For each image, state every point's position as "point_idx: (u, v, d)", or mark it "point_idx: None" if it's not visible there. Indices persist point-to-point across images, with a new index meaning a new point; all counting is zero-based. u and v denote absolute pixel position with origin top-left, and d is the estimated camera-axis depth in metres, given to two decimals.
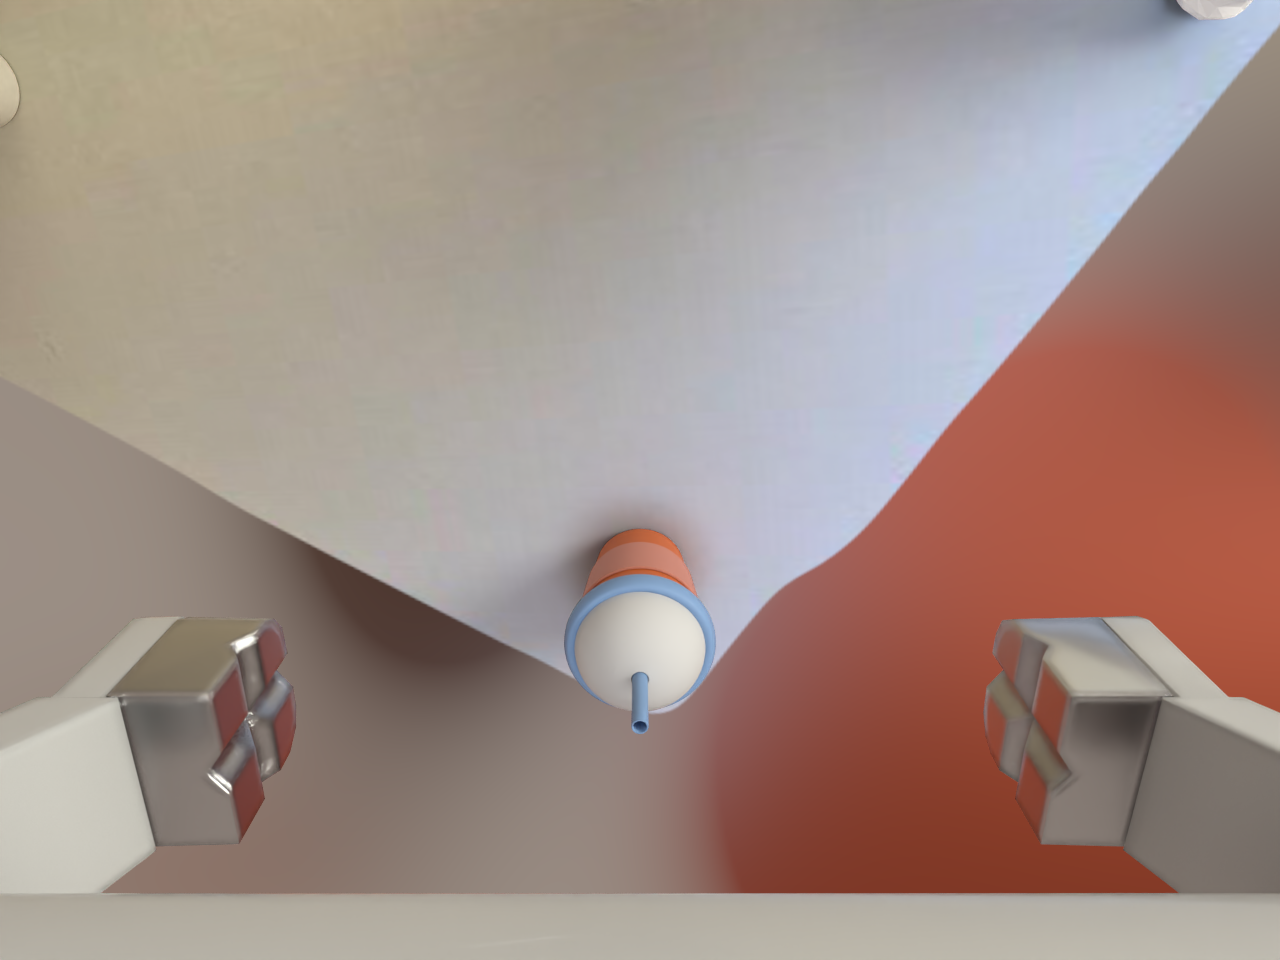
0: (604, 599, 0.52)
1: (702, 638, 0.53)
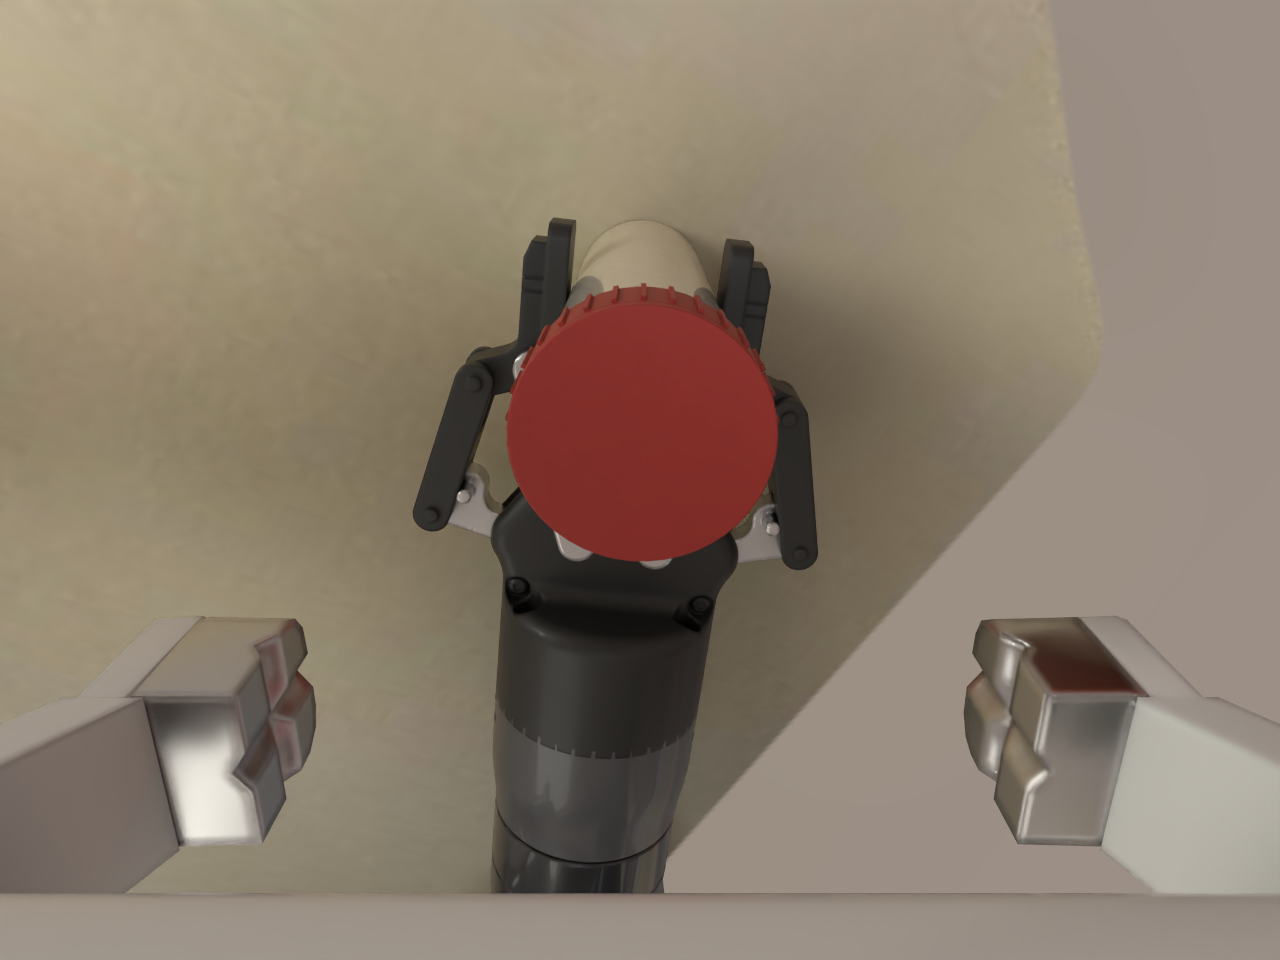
0: None
1: None
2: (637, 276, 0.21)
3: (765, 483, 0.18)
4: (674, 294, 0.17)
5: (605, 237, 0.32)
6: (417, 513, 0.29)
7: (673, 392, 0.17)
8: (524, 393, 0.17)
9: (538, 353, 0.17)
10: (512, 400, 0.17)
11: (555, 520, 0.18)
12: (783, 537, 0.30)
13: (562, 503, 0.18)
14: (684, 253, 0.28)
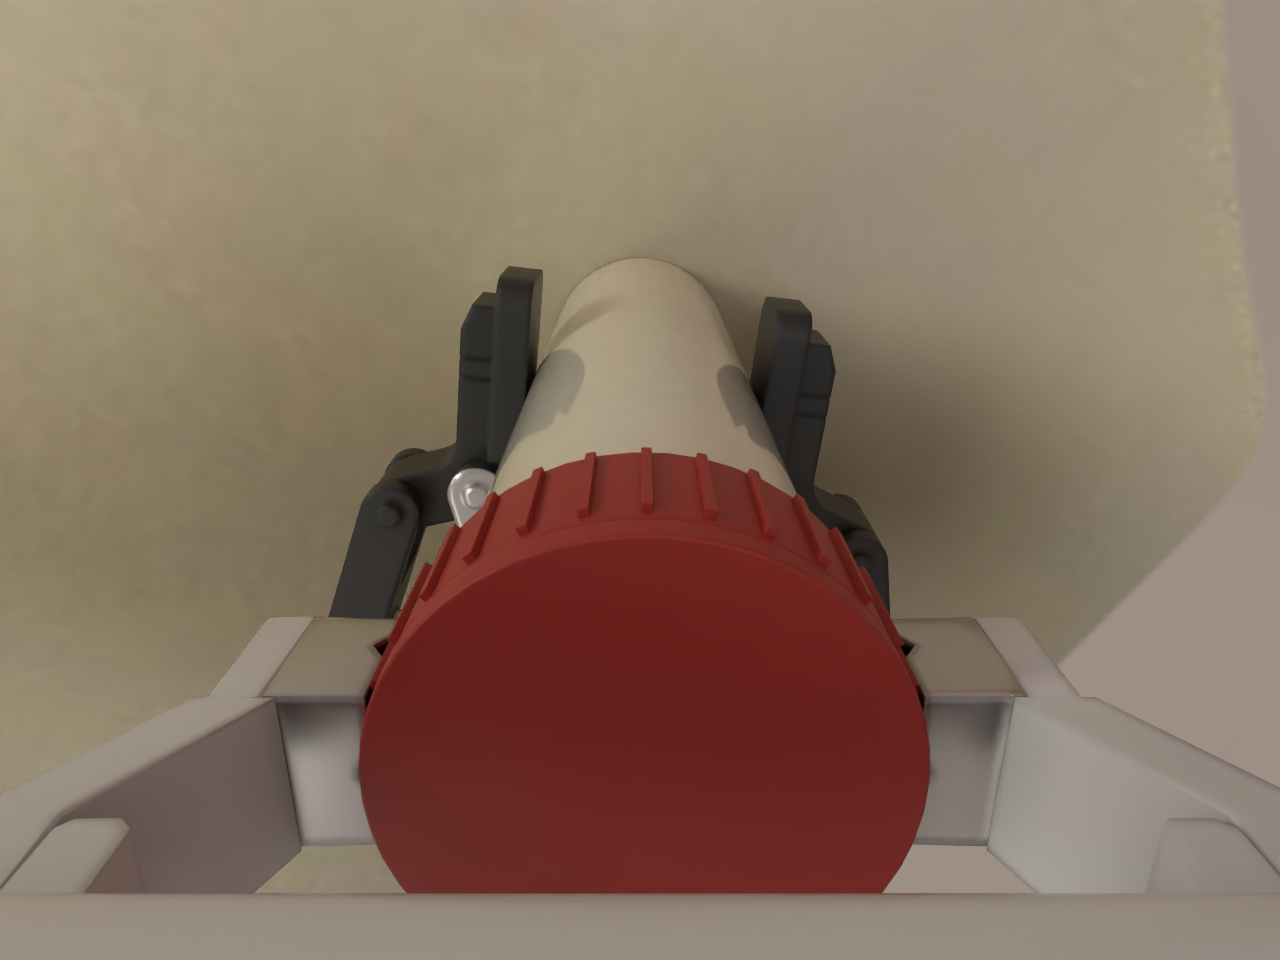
0: None
1: None
2: (633, 394, 0.12)
3: (898, 868, 0.09)
4: (711, 488, 0.08)
5: (589, 285, 0.22)
6: None
7: (711, 705, 0.08)
8: (391, 708, 0.08)
9: (416, 631, 0.08)
10: (366, 720, 0.08)
11: None
12: None
13: None
14: (704, 318, 0.19)
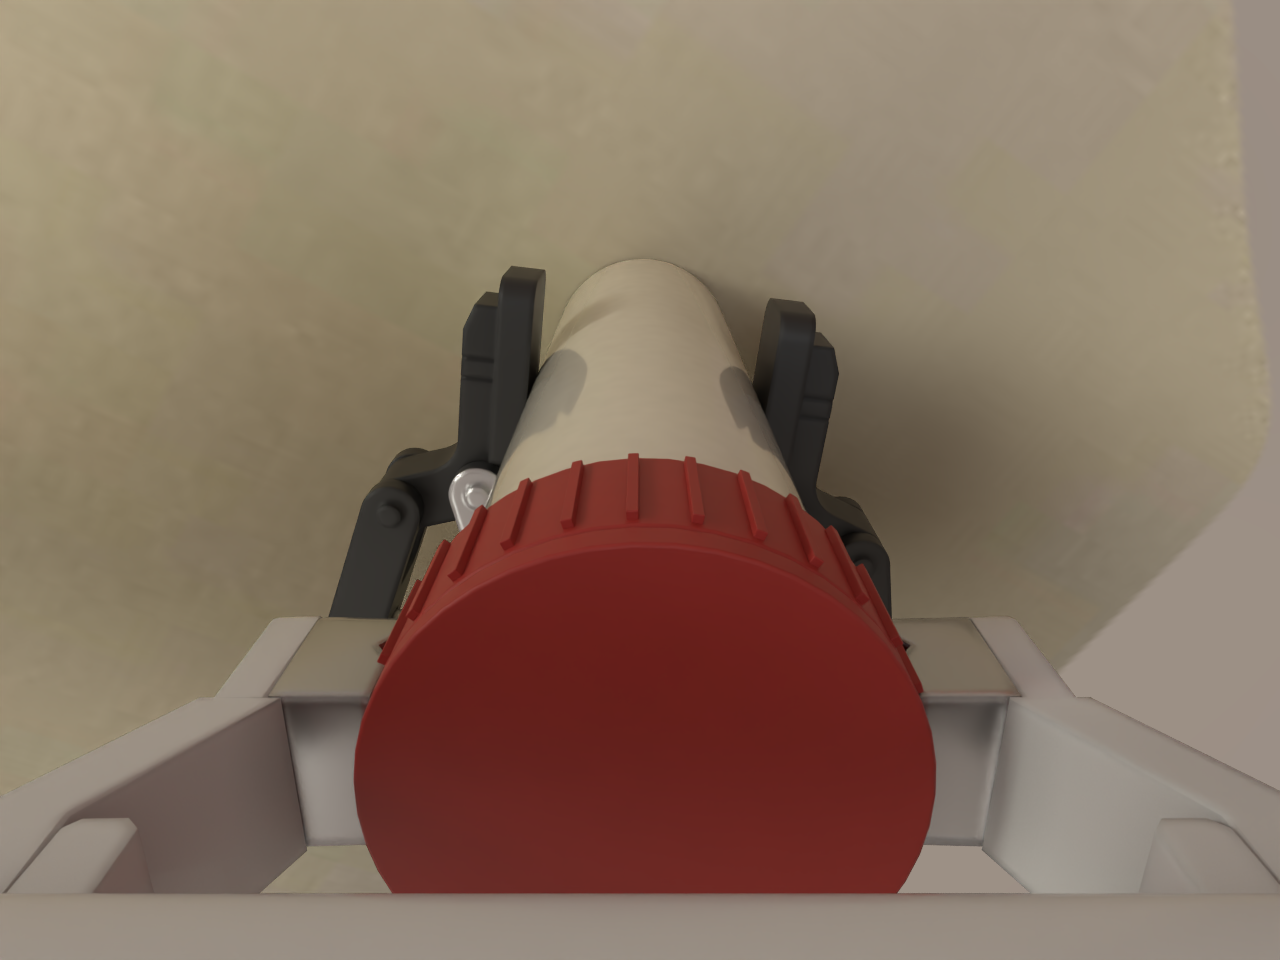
0: None
1: None
2: (636, 396, 0.12)
3: (827, 601, 0.07)
4: (393, 627, 0.09)
5: (591, 286, 0.22)
6: None
7: (555, 731, 0.08)
8: None
9: None
10: None
11: None
12: None
13: None
14: (707, 319, 0.19)
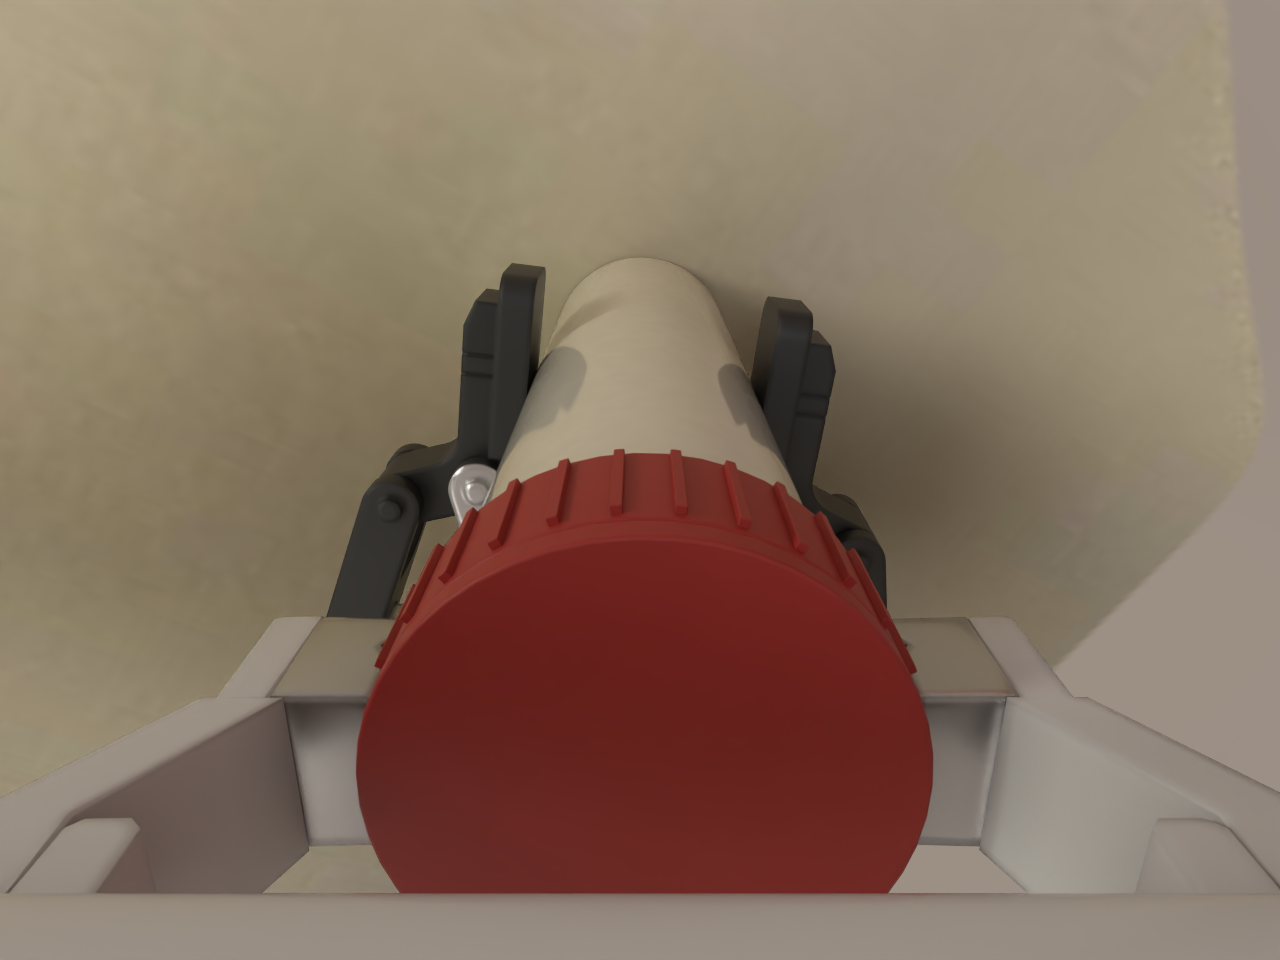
0: None
1: None
2: (636, 391, 0.12)
3: (445, 607, 0.08)
4: None
5: (590, 284, 0.23)
6: None
7: (538, 844, 0.08)
8: None
9: None
10: None
11: (909, 746, 0.08)
12: None
13: (871, 766, 0.08)
14: (705, 317, 0.19)
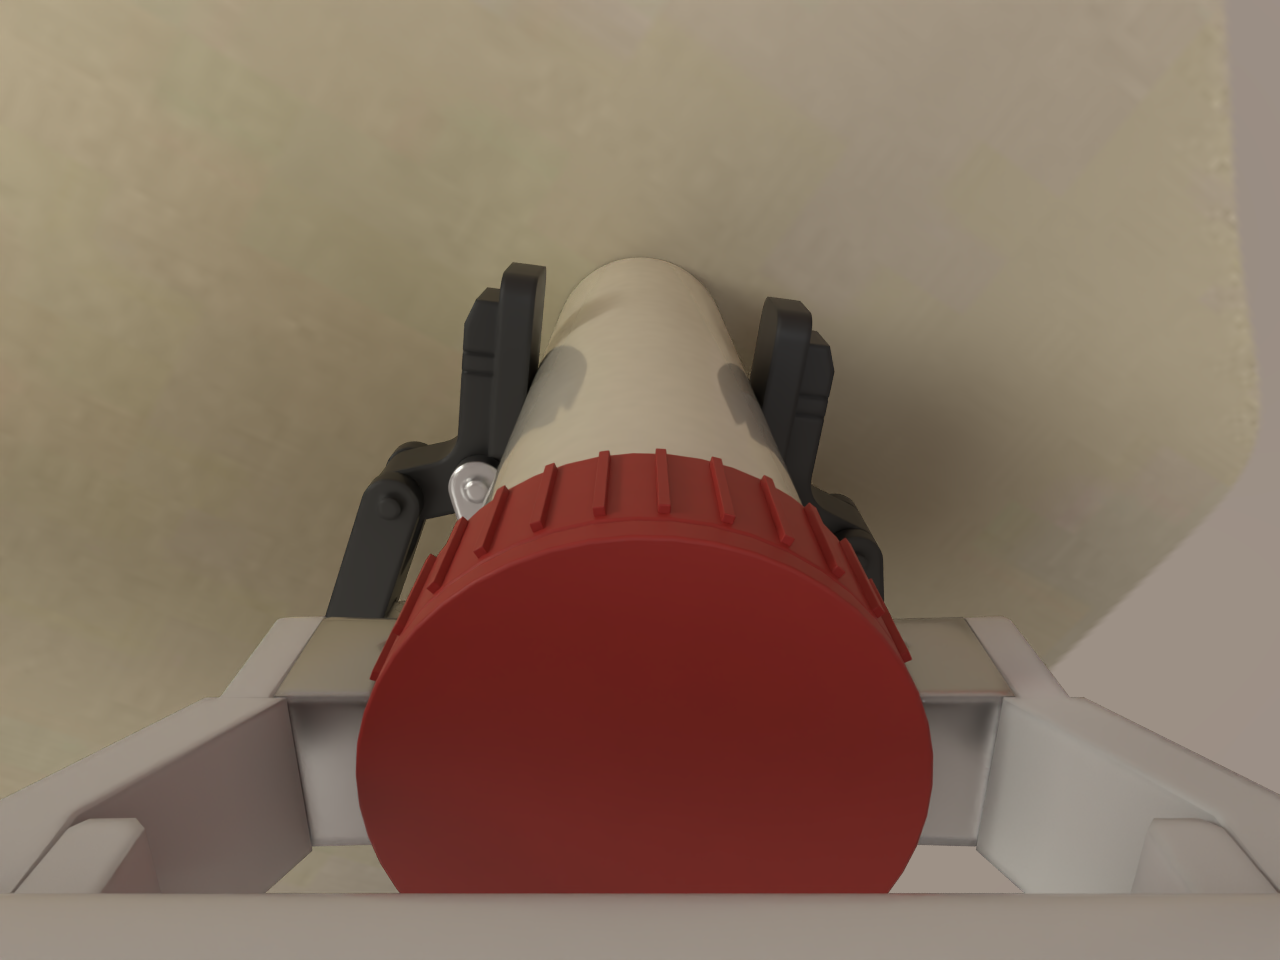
0: None
1: None
2: (636, 389, 0.12)
3: (399, 890, 0.09)
4: None
5: (590, 283, 0.23)
6: None
7: (672, 890, 0.09)
8: (902, 714, 0.08)
9: (929, 782, 0.08)
10: (912, 687, 0.08)
11: (649, 560, 0.07)
12: None
13: (667, 599, 0.08)
14: (705, 317, 0.19)
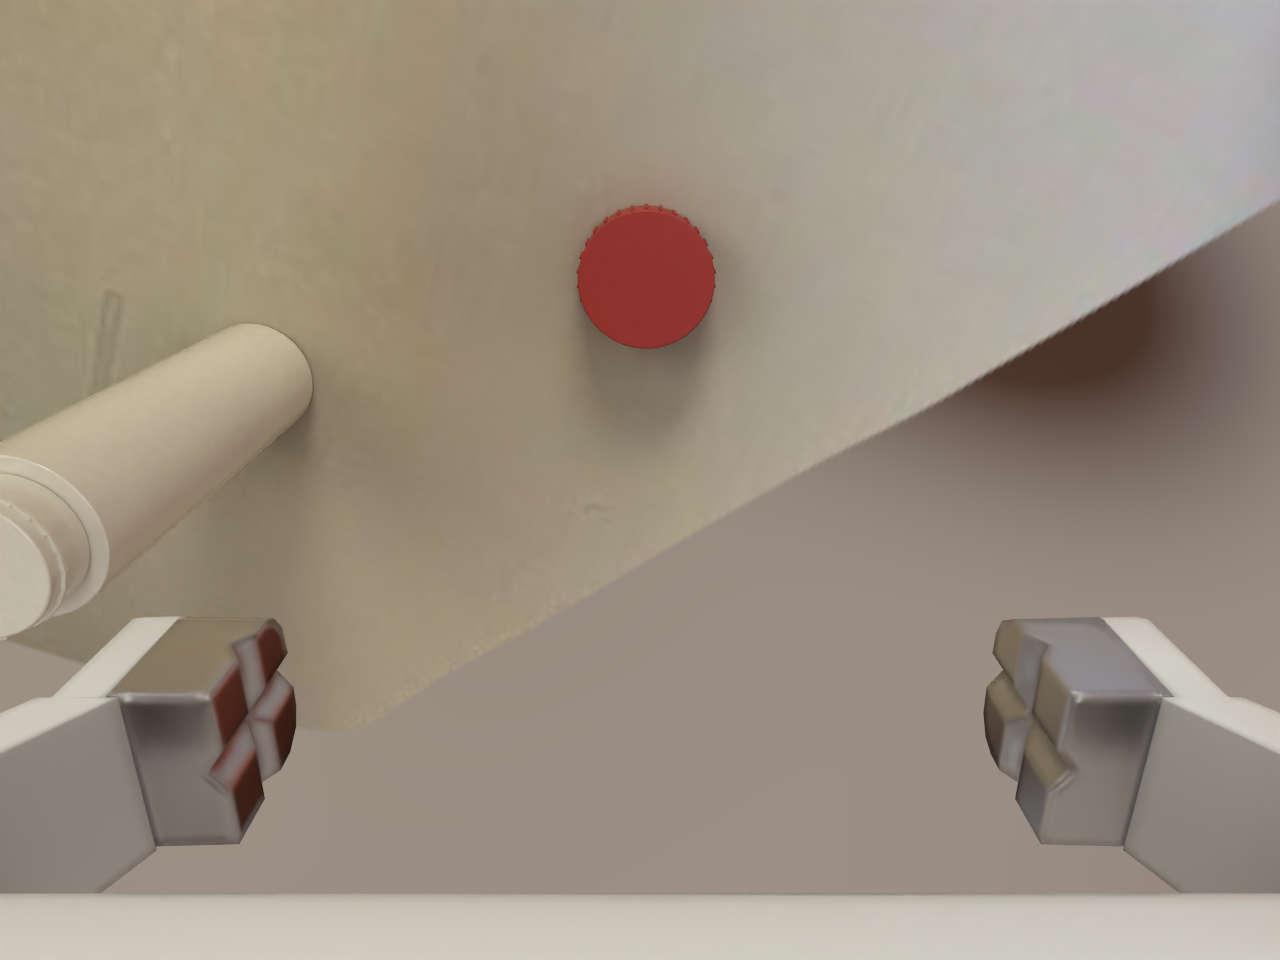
0: None
1: None
2: (152, 477, 0.26)
3: (658, 346, 0.36)
4: (712, 256, 0.36)
5: (269, 351, 0.36)
6: None
7: (675, 282, 0.35)
8: (638, 216, 0.34)
9: (659, 212, 0.34)
10: (631, 212, 0.34)
11: (585, 264, 0.35)
12: None
13: (595, 263, 0.35)
14: (255, 444, 0.33)
